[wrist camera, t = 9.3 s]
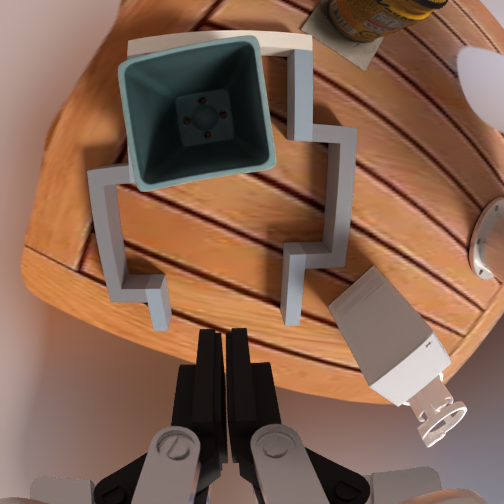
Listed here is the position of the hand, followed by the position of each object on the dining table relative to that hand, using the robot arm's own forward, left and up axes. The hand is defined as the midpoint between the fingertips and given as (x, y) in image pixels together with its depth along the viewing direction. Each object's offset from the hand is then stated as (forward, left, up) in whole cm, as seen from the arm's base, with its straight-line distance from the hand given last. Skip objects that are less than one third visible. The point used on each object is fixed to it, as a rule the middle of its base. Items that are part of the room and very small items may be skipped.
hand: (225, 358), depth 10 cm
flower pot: (+2, -9, -19) cm, 21 cm away
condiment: (-12, -20, -19) cm, 30 cm away
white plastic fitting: (-26, +23, -19) cm, 40 cm away
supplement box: (-16, +11, -19) cm, 27 cm away
